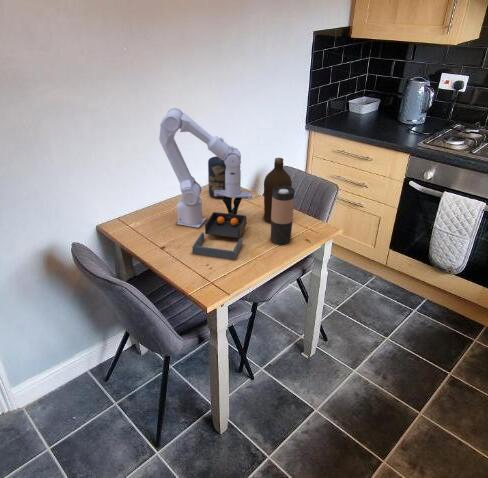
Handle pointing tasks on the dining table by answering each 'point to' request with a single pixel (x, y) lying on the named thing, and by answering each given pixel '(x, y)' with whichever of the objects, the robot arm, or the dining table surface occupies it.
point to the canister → (216, 175)
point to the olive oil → (274, 185)
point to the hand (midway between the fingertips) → (232, 214)
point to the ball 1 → (220, 220)
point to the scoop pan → (225, 225)
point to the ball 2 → (234, 221)
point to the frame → (215, 252)
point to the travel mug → (282, 214)
